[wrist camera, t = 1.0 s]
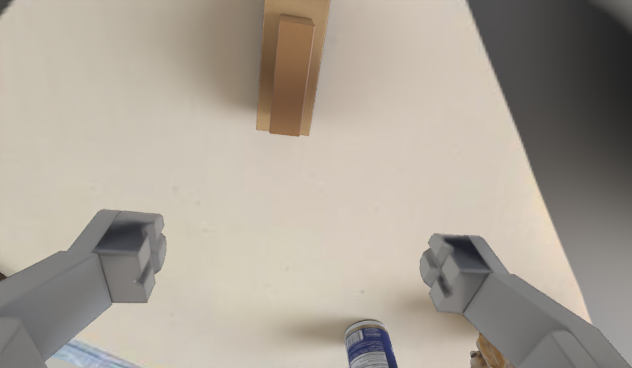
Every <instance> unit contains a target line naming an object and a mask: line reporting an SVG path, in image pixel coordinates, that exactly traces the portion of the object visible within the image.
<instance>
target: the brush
mask: <svg viewBox="0 0 632 368" xmlns="http://www.w3.org/2000/svg"><path fill="white" fill-rule="evenodd" d="M330 2H331V0H265V2H264V18H263V33H262V49H261V64H260V79H259V95H258V110H257V125H256V130H263V131H269V133H272V134H281V135H290V136H300V135H306V136H309V133H310V126H311V120H312V114H313V108H314V102H315V95H316V89H317V83H318V77H319V70H320V64H321V58H322V52H323V45H324V39H325V33H326V27H327V20H328V14H329V8H330Z"/></svg>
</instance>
